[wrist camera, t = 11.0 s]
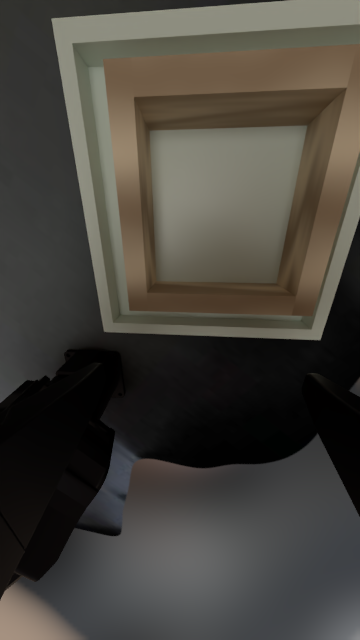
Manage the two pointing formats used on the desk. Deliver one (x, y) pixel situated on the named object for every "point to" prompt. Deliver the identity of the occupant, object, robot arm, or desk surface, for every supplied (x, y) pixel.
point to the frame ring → (237, 112)
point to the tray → (201, 165)
